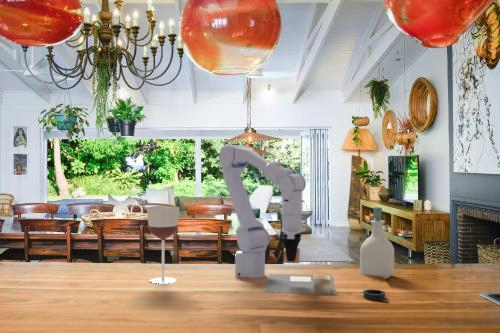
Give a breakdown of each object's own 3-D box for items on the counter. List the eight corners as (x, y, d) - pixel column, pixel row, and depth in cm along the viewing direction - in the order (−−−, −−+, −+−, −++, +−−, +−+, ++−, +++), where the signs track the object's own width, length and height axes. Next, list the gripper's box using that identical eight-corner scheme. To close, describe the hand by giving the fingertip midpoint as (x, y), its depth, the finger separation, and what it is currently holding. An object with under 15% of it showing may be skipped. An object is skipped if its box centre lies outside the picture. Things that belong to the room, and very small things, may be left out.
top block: (313, 291, 142) (313, 279, 142) (313, 287, 146) (313, 275, 146) (330, 292, 141) (330, 279, 141) (329, 288, 146) (329, 275, 146)
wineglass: (181, 282, 156) (181, 208, 156) (148, 285, 153) (148, 209, 152) (176, 276, 165) (176, 205, 164) (145, 278, 162) (145, 206, 161)
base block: (283, 262, 149) (283, 250, 149) (284, 259, 154) (284, 247, 154) (299, 263, 149) (299, 251, 149) (299, 260, 153) (299, 248, 153)
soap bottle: (395, 275, 168) (396, 206, 167) (387, 281, 159) (388, 209, 159) (367, 271, 173) (367, 205, 172) (358, 277, 164) (358, 207, 164)
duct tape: (363, 308, 132) (363, 297, 132) (356, 297, 142) (356, 287, 142) (393, 308, 131) (393, 297, 131) (384, 298, 141) (384, 287, 141)
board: (264, 296, 142) (264, 291, 142) (269, 277, 163) (269, 273, 163) (336, 298, 140) (336, 293, 140) (331, 279, 161) (331, 275, 161)
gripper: (305, 217, 143) (304, 264, 144) (305, 211, 158) (305, 255, 158) (280, 216, 144) (279, 264, 144) (282, 211, 159) (282, 254, 159)
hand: (291, 259), depth 151 cm, fingers closed on base block, 5 cm apart
